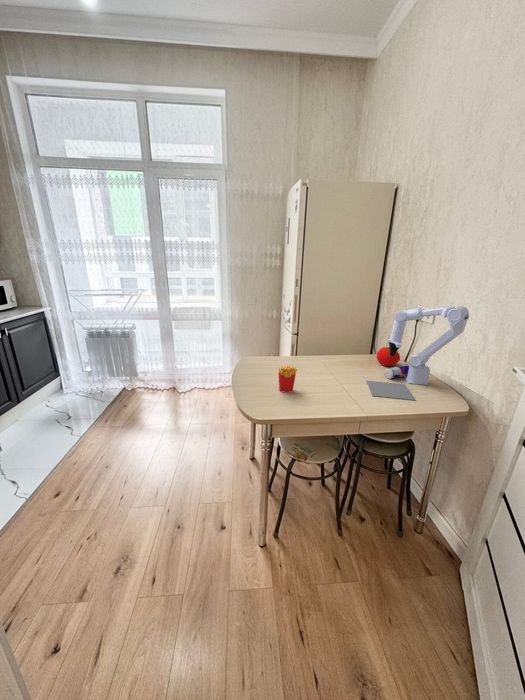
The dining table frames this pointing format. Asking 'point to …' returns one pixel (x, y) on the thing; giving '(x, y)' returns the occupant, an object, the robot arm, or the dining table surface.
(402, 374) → the beverage can
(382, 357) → the tomato
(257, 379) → the dining table surface
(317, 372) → the dining table surface
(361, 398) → the dining table surface
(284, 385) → the french fries
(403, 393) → the mat
